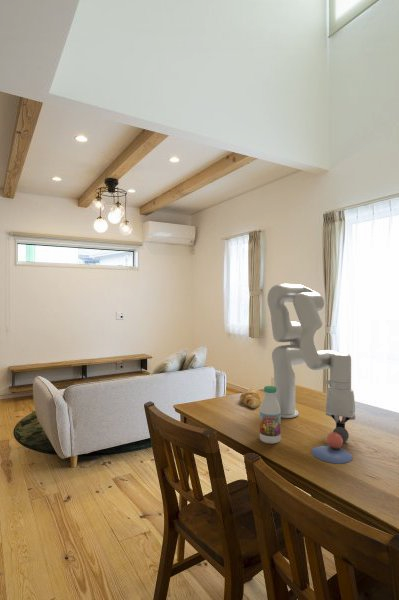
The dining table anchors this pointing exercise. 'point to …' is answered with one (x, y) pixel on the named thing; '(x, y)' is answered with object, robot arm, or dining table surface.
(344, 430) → the dark grey ball
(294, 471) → the dining table surface
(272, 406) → the milk bottle
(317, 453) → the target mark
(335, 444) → the red ball
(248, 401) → the croissant
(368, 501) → the dining table surface
